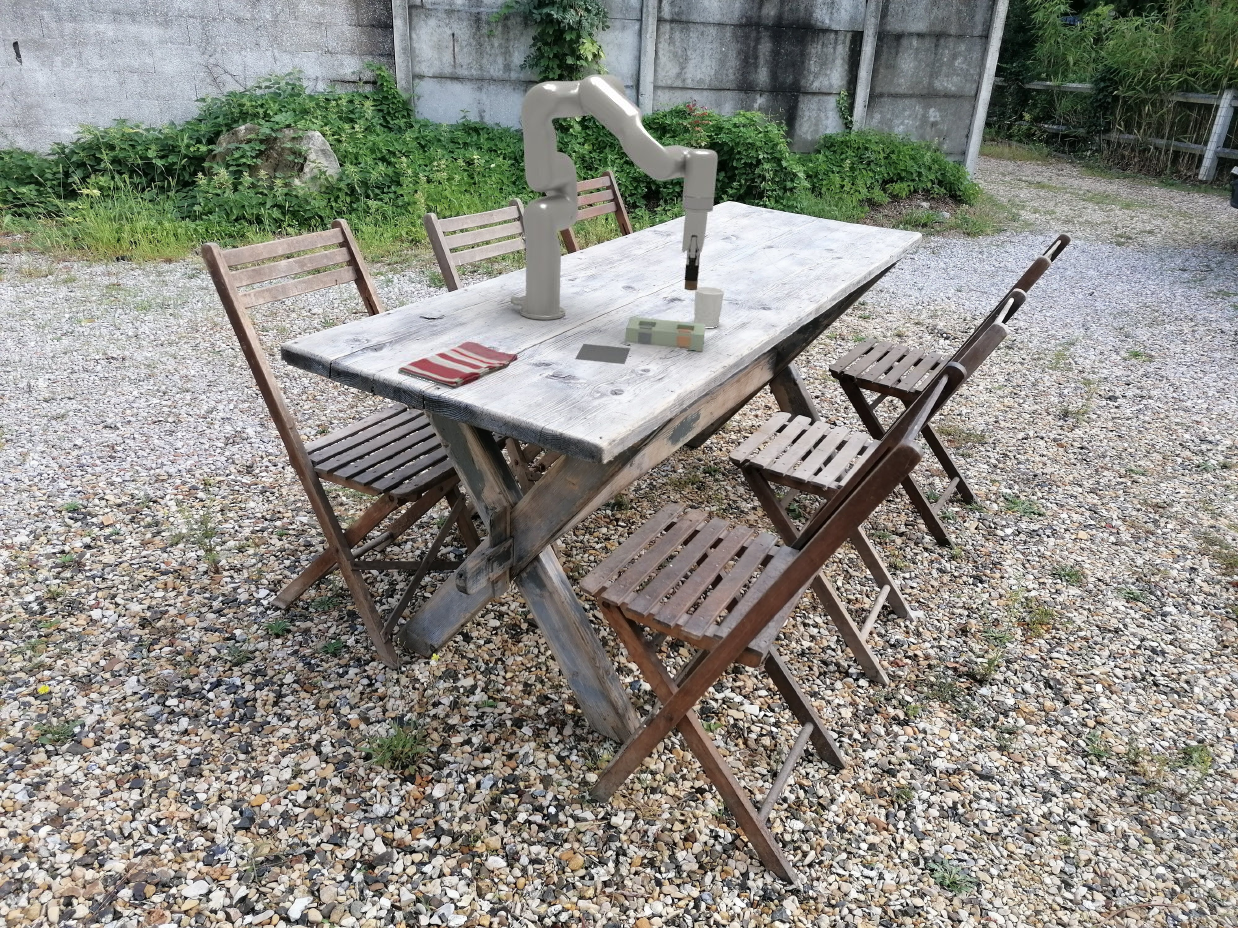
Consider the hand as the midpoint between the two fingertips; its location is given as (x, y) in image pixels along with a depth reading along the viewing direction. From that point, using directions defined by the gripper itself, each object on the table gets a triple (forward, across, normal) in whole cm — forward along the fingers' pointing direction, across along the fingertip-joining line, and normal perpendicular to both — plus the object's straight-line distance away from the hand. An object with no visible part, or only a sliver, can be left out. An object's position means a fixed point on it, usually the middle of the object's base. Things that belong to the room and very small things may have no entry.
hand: (691, 278), depth 210 cm
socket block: (+17, 0, -6) cm, 18 cm away
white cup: (+18, -19, +4) cm, 26 cm away
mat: (+17, +16, -20) cm, 30 cm away
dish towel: (+18, +33, -50) cm, 63 cm away
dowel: (+3, 0, 0) cm, 3 cm away
